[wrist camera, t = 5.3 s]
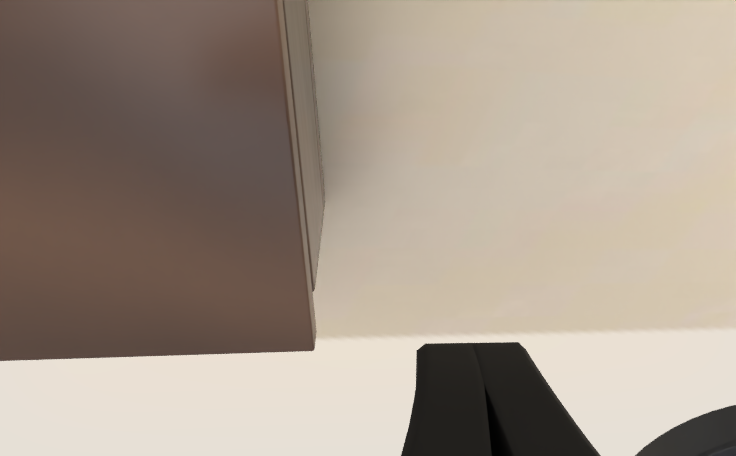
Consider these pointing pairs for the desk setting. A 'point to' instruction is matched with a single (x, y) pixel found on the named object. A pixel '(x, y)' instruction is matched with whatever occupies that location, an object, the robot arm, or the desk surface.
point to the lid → (149, 181)
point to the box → (306, 123)
